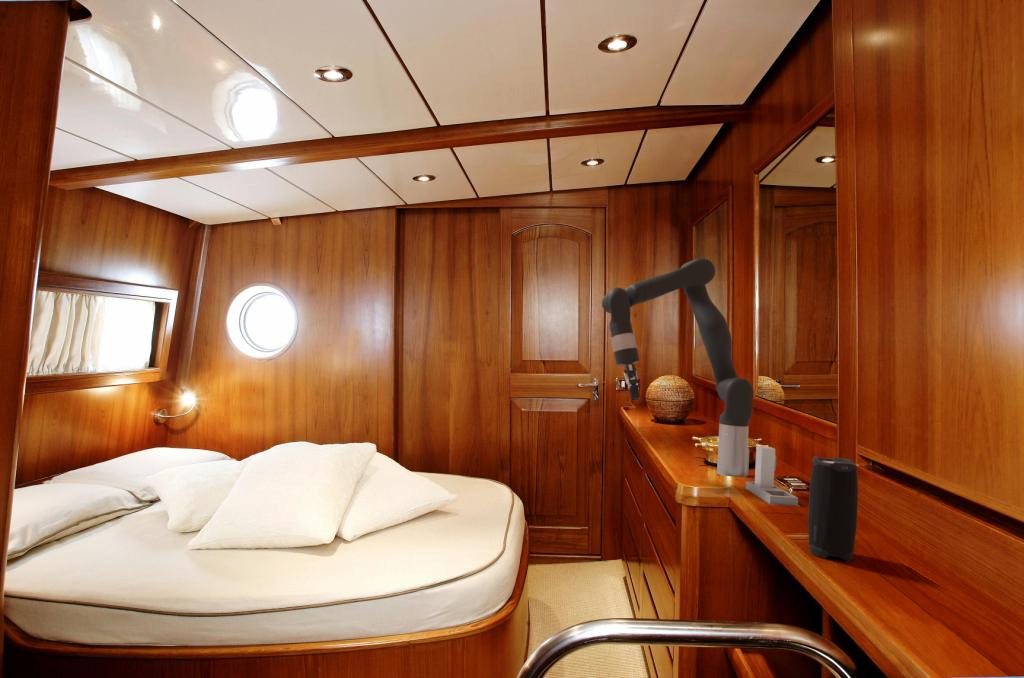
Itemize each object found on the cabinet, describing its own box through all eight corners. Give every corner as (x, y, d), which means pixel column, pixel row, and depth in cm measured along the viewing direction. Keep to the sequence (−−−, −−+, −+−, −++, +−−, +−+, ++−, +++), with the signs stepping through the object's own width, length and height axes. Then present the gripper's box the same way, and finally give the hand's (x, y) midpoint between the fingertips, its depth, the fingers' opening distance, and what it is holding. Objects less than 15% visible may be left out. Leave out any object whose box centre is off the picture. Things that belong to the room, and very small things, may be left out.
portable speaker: (839, 548, 117) (844, 456, 117) (864, 565, 107) (869, 465, 108) (798, 545, 117) (802, 453, 118) (819, 561, 108) (824, 462, 108)
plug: (769, 491, 161) (771, 447, 162) (775, 494, 158) (777, 449, 158) (754, 490, 161) (756, 446, 162) (759, 493, 158) (762, 448, 158)
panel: (770, 492, 164) (771, 482, 164) (800, 510, 146) (800, 498, 146) (743, 490, 164) (744, 480, 164) (769, 508, 146) (770, 496, 146)
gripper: (638, 343, 168) (649, 395, 165) (635, 350, 182) (646, 399, 179) (613, 347, 169) (624, 399, 166) (613, 355, 183) (623, 402, 180)
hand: (635, 399), depth 172 cm, fingers open, 8 cm apart
